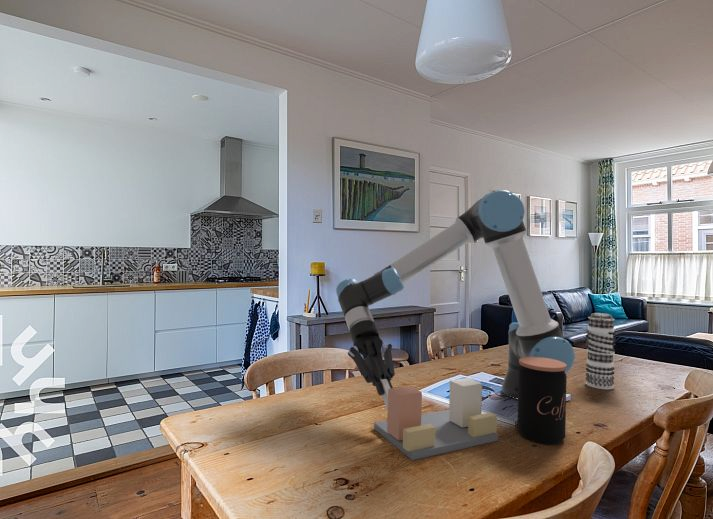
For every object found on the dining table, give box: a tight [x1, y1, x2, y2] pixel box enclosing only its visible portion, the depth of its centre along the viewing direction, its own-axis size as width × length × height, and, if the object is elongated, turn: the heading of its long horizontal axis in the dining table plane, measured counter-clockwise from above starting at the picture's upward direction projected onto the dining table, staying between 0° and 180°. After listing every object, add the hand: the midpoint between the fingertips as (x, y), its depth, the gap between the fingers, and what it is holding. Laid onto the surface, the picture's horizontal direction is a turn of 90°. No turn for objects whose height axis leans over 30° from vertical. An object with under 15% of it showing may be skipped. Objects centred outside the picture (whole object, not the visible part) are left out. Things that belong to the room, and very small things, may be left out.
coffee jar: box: [516, 357, 568, 445], centre depth 97 cm, size 11×11×18 cm
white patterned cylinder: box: [585, 312, 617, 390], centre depth 139 cm, size 9×9×25 cm
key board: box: [373, 409, 499, 461], centre depth 97 cm, size 17×25×6 cm
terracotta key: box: [387, 385, 423, 441], centre depth 92 cm, size 5×6×10 cm
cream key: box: [448, 377, 483, 428], centre depth 100 cm, size 5×6×10 cm
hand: (391, 406), depth 97 cm, fingers closed
